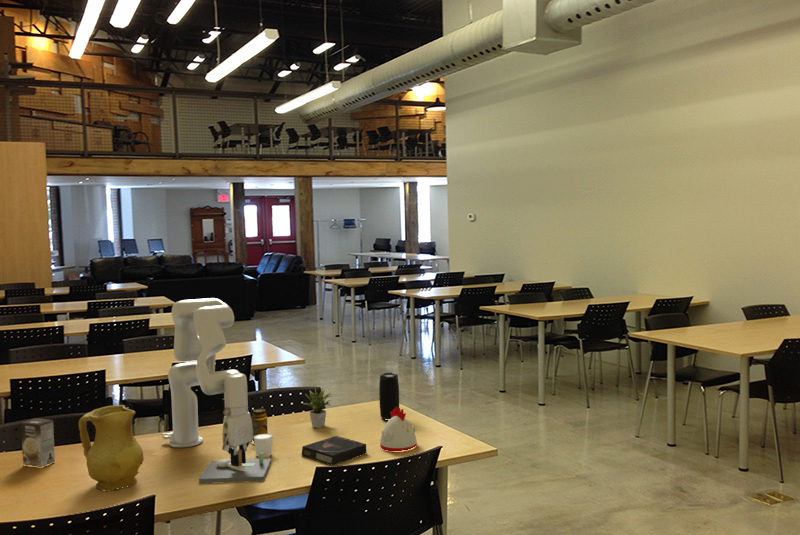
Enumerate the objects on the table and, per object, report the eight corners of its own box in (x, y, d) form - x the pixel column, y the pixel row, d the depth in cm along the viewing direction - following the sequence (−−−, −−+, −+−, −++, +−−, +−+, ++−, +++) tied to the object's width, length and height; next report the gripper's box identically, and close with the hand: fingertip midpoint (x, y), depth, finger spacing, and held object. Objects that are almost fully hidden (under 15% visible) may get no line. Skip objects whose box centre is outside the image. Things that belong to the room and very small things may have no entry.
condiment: (272, 440, 267) (271, 410, 266) (253, 445, 261) (252, 414, 260) (262, 436, 272) (261, 407, 271) (243, 441, 266) (242, 411, 265)
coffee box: (21, 466, 241) (19, 422, 240) (36, 461, 247) (34, 417, 246) (41, 469, 238) (39, 424, 237) (56, 463, 244) (54, 419, 243)
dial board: (198, 483, 221) (198, 466, 221) (211, 464, 239) (211, 449, 238) (263, 480, 222) (263, 464, 222) (271, 462, 240) (270, 447, 239)
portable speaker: (381, 422, 289) (379, 376, 288) (379, 416, 298) (378, 372, 297) (400, 421, 290) (399, 375, 289) (398, 415, 299) (397, 371, 298)
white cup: (257, 459, 244) (256, 440, 244) (252, 453, 250) (251, 435, 250) (275, 455, 247) (275, 437, 247) (270, 450, 253) (269, 432, 253)
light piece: (213, 465, 233) (212, 446, 232) (226, 460, 237) (226, 442, 237) (236, 472, 224) (235, 453, 224) (249, 468, 229) (249, 449, 229)
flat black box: (301, 457, 246) (301, 446, 246) (336, 446, 259) (336, 435, 258) (331, 467, 235) (331, 456, 235) (366, 454, 247) (366, 444, 247)
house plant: (333, 431, 276) (332, 392, 275) (300, 432, 276) (298, 392, 276) (337, 422, 290) (336, 384, 290) (305, 422, 291) (304, 385, 290)
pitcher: (109, 497, 210) (106, 418, 209) (74, 487, 220) (70, 411, 219) (155, 480, 225) (152, 406, 224) (120, 470, 235) (117, 399, 233)
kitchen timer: (396, 455, 245) (395, 414, 244) (372, 446, 256) (371, 407, 255) (424, 446, 254) (423, 407, 254) (400, 438, 265) (399, 401, 264)
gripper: (225, 417, 219) (227, 473, 219) (261, 406, 232) (263, 459, 233) (210, 414, 223) (212, 469, 224) (246, 404, 236) (248, 455, 237)
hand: (238, 463), depth 228 cm, fingers closed on light piece, 2 cm apart
